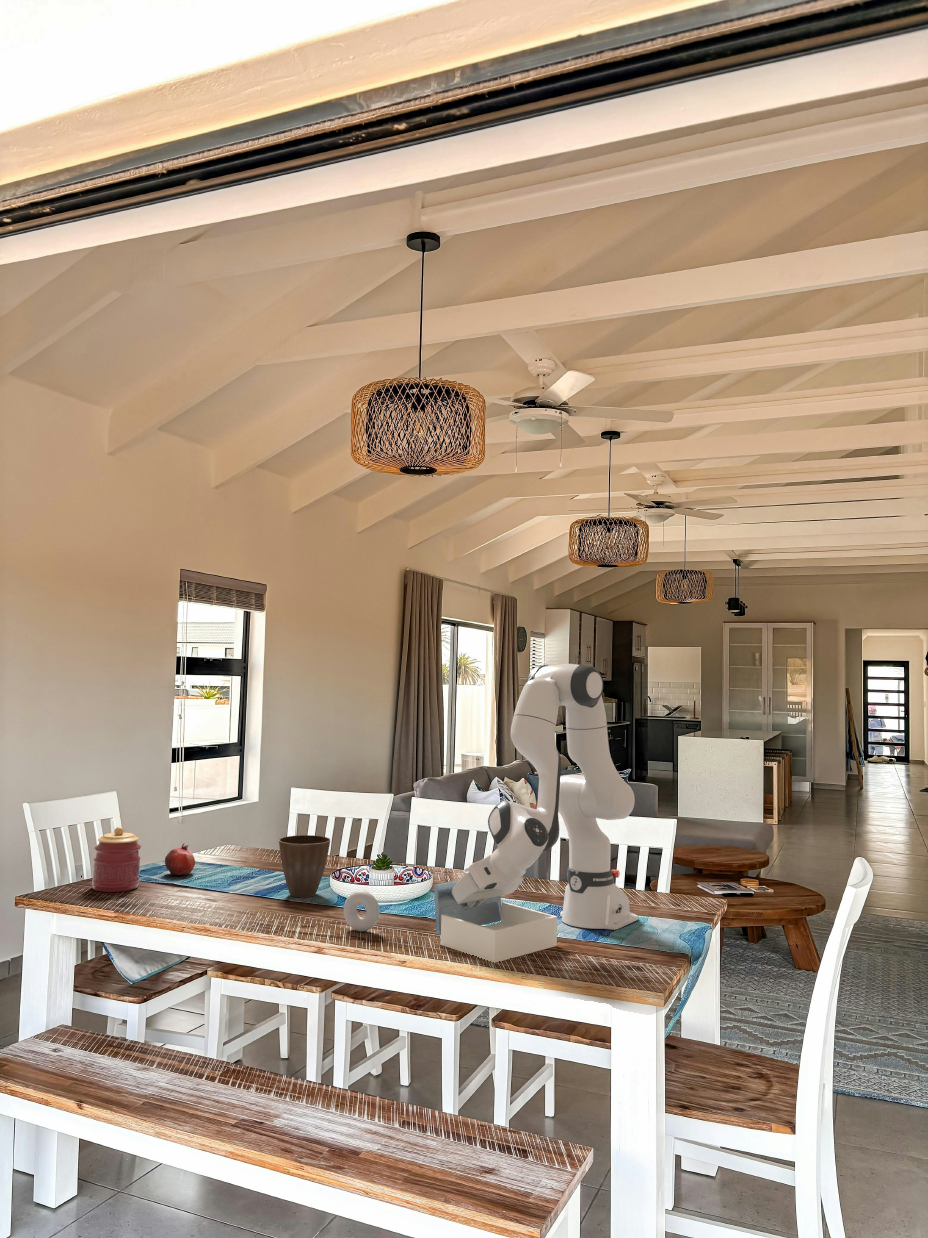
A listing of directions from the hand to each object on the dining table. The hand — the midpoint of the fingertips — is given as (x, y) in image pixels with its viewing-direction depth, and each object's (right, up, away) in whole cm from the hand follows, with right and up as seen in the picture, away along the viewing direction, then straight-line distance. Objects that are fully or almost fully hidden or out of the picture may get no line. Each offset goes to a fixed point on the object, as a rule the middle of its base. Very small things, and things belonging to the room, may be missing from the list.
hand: (471, 904), depth 223 cm
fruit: (-92, -10, +59) cm, 110 cm away
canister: (-105, -8, +38) cm, 112 cm away
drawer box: (+6, -8, -7) cm, 12 cm away
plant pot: (-49, -9, +37) cm, 63 cm away
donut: (-28, -7, +1) cm, 29 cm away
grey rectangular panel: (-1, -6, 0) cm, 6 cm away
